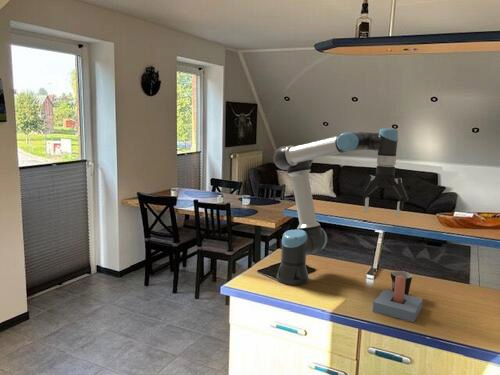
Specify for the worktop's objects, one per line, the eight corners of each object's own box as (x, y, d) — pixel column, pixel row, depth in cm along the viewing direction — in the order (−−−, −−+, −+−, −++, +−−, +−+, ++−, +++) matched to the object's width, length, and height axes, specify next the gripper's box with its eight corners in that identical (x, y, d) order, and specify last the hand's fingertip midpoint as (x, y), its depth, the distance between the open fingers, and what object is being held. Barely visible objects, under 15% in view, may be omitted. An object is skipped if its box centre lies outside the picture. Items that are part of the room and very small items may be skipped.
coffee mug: (411, 300, 182) (414, 278, 180) (391, 298, 183) (393, 276, 182) (407, 290, 193) (409, 269, 191) (387, 288, 195) (389, 267, 193)
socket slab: (372, 311, 171) (373, 302, 170) (383, 297, 184) (384, 289, 183) (413, 322, 162) (414, 312, 161) (421, 307, 175) (422, 298, 175)
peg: (391, 310, 172) (394, 277, 170) (393, 306, 176) (396, 274, 173) (401, 312, 170) (404, 279, 168) (403, 309, 174) (406, 276, 171)
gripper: (354, 163, 181) (350, 211, 184) (415, 168, 168) (410, 220, 171) (359, 162, 187) (356, 208, 190) (418, 167, 174) (413, 217, 177)
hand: (381, 214), depth 181 cm, fingers open, 13 cm apart
